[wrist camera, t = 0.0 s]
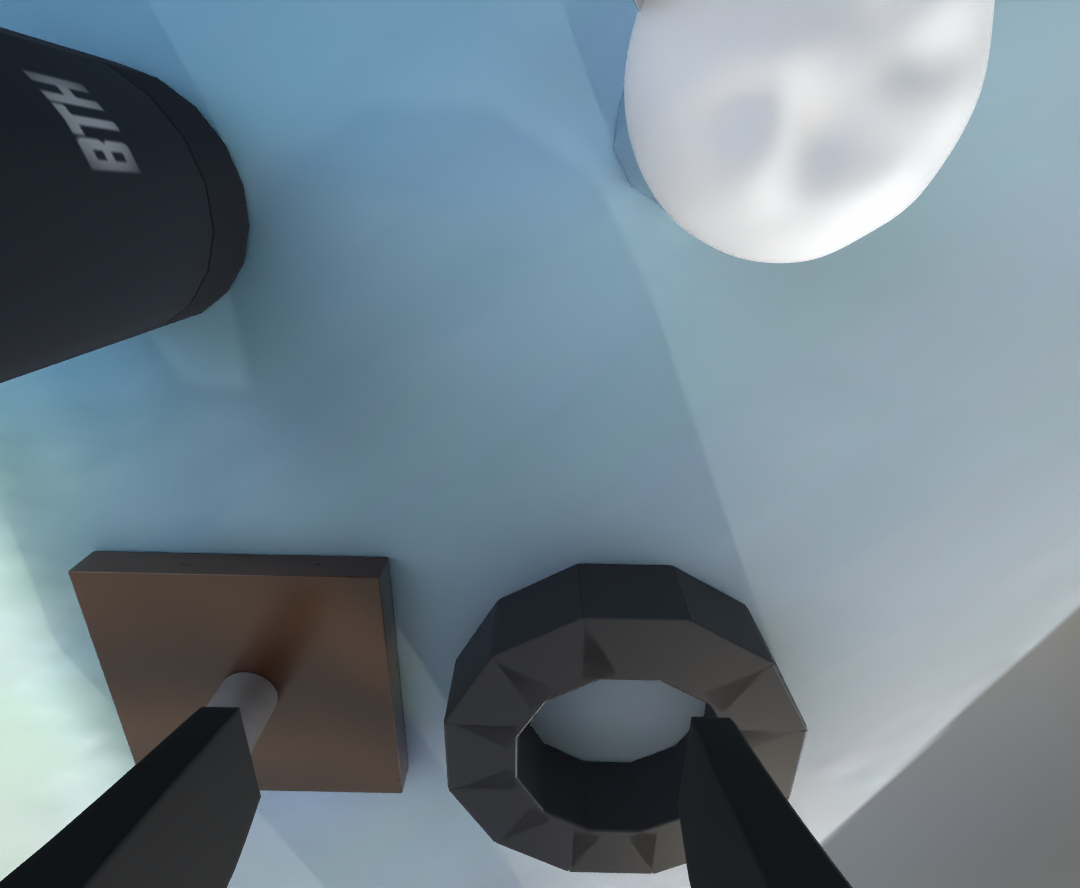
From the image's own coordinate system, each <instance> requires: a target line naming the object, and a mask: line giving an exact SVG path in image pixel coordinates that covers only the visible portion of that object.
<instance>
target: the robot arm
mask: <svg viewBox="0 0 1080 888" xmlns="http://www.w3.org/2000/svg"><path fill="white" fill-rule="evenodd" d="M260 797H261V795H260V791H259V787H258V783H257V779H256V775H255V770H254V766H253V762H252V758H251V754H250V750H249V746H248V741H247V737H246V733H245V729H244V725H243V721H242V717H241V712H240V708H239V707H200V708H199V709H198V710H197V711H196V712H195V713H193V714H192V715H191V716H190V717H189V718H188V719H187V720H185V721H184V722H183V723H182V724H181V725H180V726H179V727H178V728H176V729H175V730H174V731H173V732H172V733H171V734H170V735H169V736H167V737H166V738H165V739H164V740H163V741H162V742H161V743H160V744H158V745H157V746H156V747H155V748H154V749H153V750H152V751H151V752H150V753H148V754H147V755H146V756H145V757H144V758H143V759H142V760H141V761H140V762H138V763H137V764H136V765H135V766H134V767H133V768H132V769H131V770H130V771H128V772H127V773H126V774H125V775H124V776H123V777H122V778H121V779H119V780H118V781H117V782H116V783H115V784H114V785H113V786H112V787H111V788H109V789H108V790H107V791H106V792H105V793H104V794H103V795H101V796H100V797H99V798H98V799H97V800H96V801H95V802H93V803H92V804H91V805H90V806H89V807H88V808H87V809H85V810H84V811H83V812H82V813H81V814H80V815H79V816H77V817H76V818H75V819H74V820H73V821H72V822H71V823H69V824H68V825H67V826H66V827H65V828H64V829H63V830H61V831H60V832H59V833H58V834H57V835H56V836H54V837H53V838H52V839H51V840H50V841H49V842H48V843H46V844H45V845H44V846H43V847H42V848H40V849H39V850H38V851H37V852H36V853H34V854H33V855H32V856H31V857H29V858H28V859H27V860H26V861H25V862H23V863H22V864H21V865H20V866H19V867H17V868H16V869H15V870H14V871H13V872H11V873H10V874H9V875H8V876H6V877H5V878H4V879H3V880H2V881H0V888H227V886H228V883H229V881H230V879H231V877H232V875H233V872H234V870H235V868H236V865H237V862H238V860H239V857H240V854H241V852H242V849H243V846H244V843H245V841H246V838H247V835H248V832H249V829H250V826H251V824H252V821H253V818H254V815H255V812H256V809H257V806H258V803H259V800H260ZM678 810H679V817H680V824H681V831H682V838H683V845H684V851H685V857H686V863H687V869H688V876H689V881H690V885H691V888H852V886H851V885H850V884H849V882H848V881H847V880H846V879H845V877H844V876H843V875H842V874H841V872H840V871H839V870H838V868H837V867H836V866H835V864H834V863H833V862H832V860H831V859H830V857H829V856H828V855H827V854H826V852H825V851H824V850H823V848H822V847H821V845H820V844H819V843H818V841H817V840H816V839H815V837H814V836H813V835H812V833H811V832H810V831H809V829H808V828H807V827H806V825H805V824H804V823H803V821H802V820H801V818H800V817H799V816H798V814H797V813H796V812H795V810H794V809H793V807H792V806H791V805H790V803H789V802H788V800H787V799H786V797H785V796H784V795H783V793H782V792H781V790H780V789H779V787H778V786H777V784H776V783H775V782H774V780H773V779H772V777H771V776H770V774H769V773H768V771H767V770H766V768H765V767H764V766H763V764H762V763H761V761H760V760H759V758H758V757H757V755H756V754H755V752H754V751H753V749H752V748H751V746H750V744H749V743H748V741H747V740H746V738H745V737H744V735H743V734H742V732H741V731H740V729H739V728H738V726H737V724H736V723H735V722H734V721H733V720H732V719H731V718H721V717H692V718H691V724H690V731H689V737H688V743H687V750H686V756H685V762H684V769H683V775H682V781H681V788H680V794H679V801H678Z"/></svg>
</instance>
